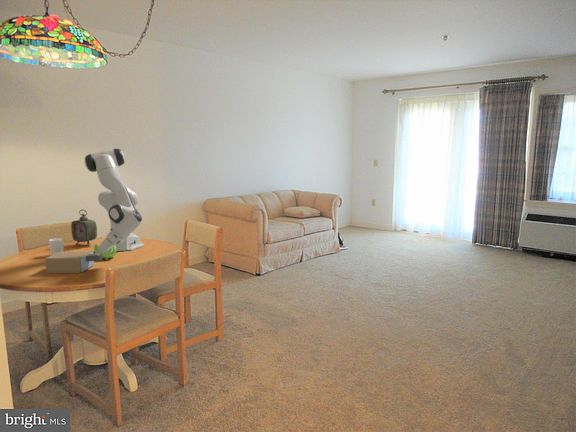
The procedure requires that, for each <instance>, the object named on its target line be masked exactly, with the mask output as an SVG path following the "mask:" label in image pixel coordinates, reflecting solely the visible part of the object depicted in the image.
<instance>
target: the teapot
mask: <svg viewBox="0 0 576 432" xmlns="http://www.w3.org/2000/svg"><path fill="white" fill-rule="evenodd" d="M99 246H100V244H97V243H96V244H94V249H93V252H94V254H96V253H97V252H98V251H99V250H98V247H99ZM117 252H118V251H117V250H116V246H114V247H112V248H110V249H109V250H108V251H106V252H104V253H102V259H104V261H108V260H109V259H113V258H114V257H115V256H116V253H117Z"/></svg>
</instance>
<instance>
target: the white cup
mask: <svg viewBox="0 0 576 432" xmlns="http://www.w3.org/2000/svg"><path fill="white" fill-rule="evenodd" d="M64 243H65V242H64V238H61V237H59V238H58V237H57V238H50V239H48V246H49V250H50V256H51V255H54V254H56V253H58V252H65V251H64V247H65V246H64Z"/></svg>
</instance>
